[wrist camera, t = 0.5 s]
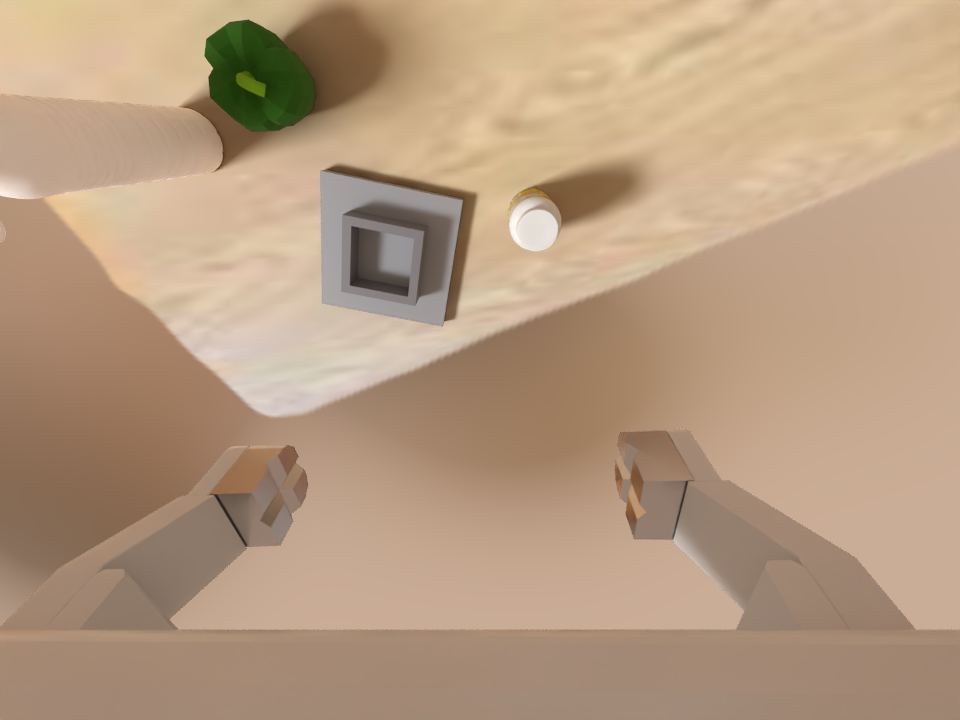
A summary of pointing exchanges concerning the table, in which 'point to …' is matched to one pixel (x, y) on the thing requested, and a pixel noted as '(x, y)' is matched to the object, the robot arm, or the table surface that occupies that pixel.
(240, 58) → the bell pepper
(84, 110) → the water bottle
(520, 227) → the supplement bottle
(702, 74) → the table surface
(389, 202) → the bottle stand
